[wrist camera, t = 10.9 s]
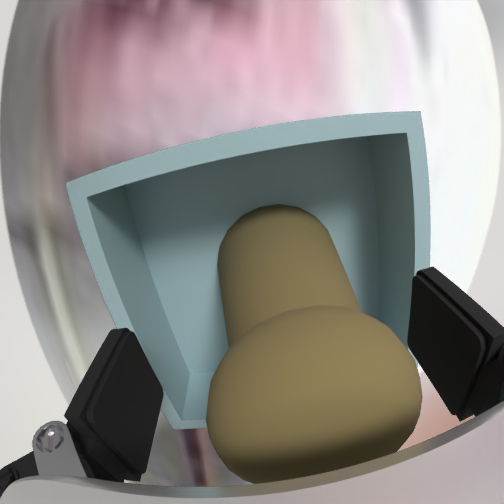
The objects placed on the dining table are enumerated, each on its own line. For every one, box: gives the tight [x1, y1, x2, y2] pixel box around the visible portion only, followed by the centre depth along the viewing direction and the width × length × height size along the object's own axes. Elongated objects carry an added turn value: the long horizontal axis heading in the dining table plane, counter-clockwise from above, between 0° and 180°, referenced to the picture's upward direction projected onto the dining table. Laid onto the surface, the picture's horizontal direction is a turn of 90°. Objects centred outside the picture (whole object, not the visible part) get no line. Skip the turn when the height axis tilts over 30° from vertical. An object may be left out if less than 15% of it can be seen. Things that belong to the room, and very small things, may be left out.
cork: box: [206, 204, 422, 484], centre depth 10 cm, size 6×6×11 cm
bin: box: [65, 111, 430, 429], centre depth 14 cm, size 14×14×4 cm
